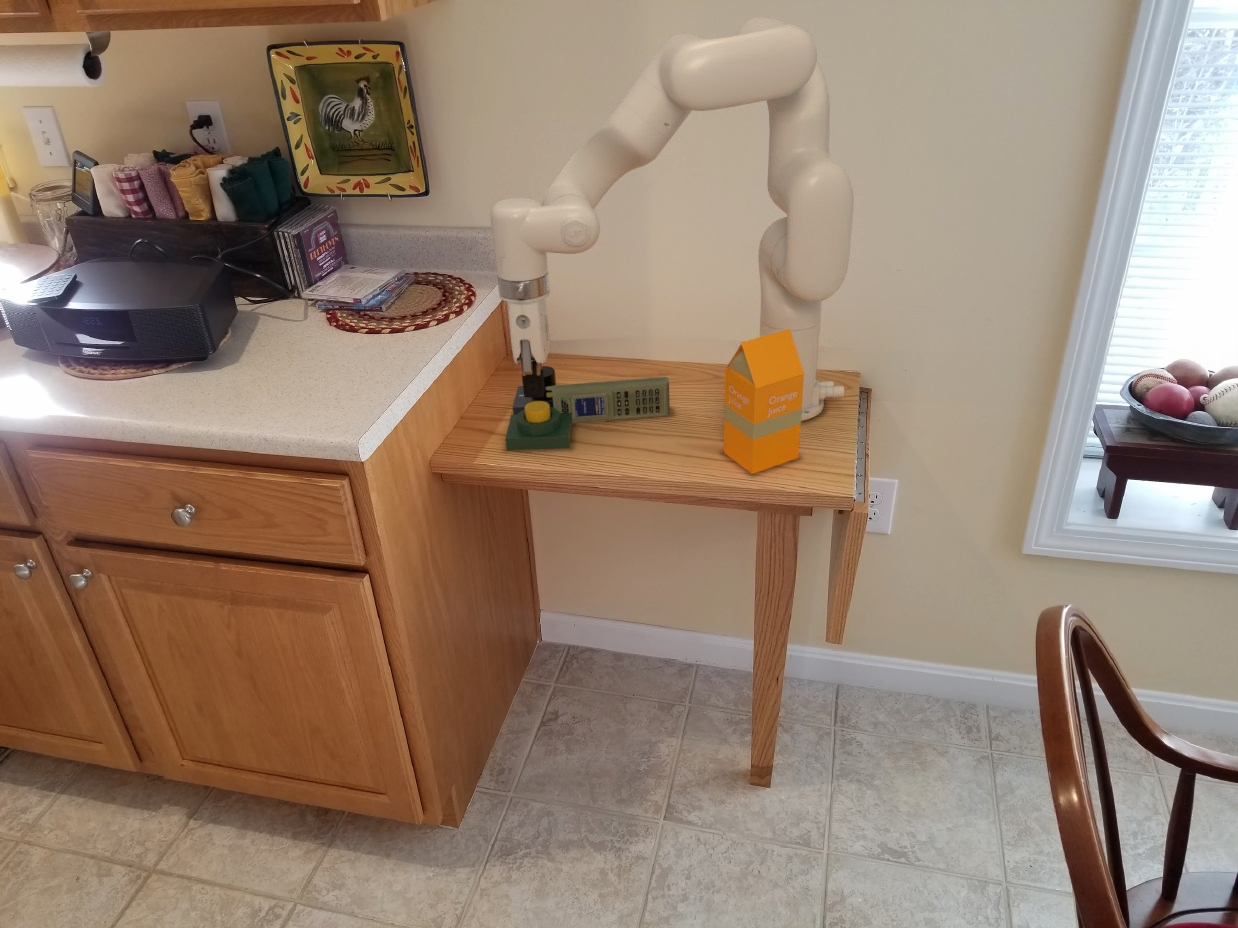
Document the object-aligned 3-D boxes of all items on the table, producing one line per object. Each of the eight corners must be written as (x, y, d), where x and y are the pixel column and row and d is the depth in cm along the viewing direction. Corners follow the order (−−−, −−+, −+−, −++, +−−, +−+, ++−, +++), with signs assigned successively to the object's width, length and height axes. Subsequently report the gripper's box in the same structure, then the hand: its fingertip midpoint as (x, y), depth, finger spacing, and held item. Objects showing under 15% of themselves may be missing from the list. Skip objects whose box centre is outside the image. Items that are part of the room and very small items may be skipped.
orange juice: (722, 452, 141) (724, 333, 131) (769, 436, 145) (774, 320, 134) (752, 474, 136) (756, 352, 125) (799, 458, 139) (807, 337, 128)
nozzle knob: (532, 389, 157) (530, 364, 155) (558, 389, 157) (555, 363, 155) (529, 401, 154) (527, 375, 151) (555, 400, 153) (553, 375, 151)
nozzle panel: (575, 395, 160) (574, 382, 159) (572, 419, 153) (571, 405, 152) (519, 397, 161) (517, 384, 159) (513, 421, 153) (512, 407, 152)
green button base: (572, 424, 152) (570, 402, 149) (569, 448, 145) (567, 426, 143) (512, 426, 152) (510, 405, 150) (507, 450, 145) (504, 428, 143)
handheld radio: (670, 418, 152) (521, 430, 151) (667, 410, 155) (521, 421, 154) (669, 382, 149) (517, 394, 148) (666, 374, 152) (517, 386, 151)
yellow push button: (551, 411, 148) (550, 400, 147) (549, 423, 145) (548, 412, 144) (527, 412, 148) (525, 401, 147) (524, 424, 145) (523, 412, 144)
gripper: (544, 302, 128) (554, 417, 138) (552, 267, 141) (561, 374, 150) (492, 304, 128) (505, 418, 138) (504, 268, 141) (516, 375, 151)
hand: (534, 394), depth 144 cm, fingers closed
